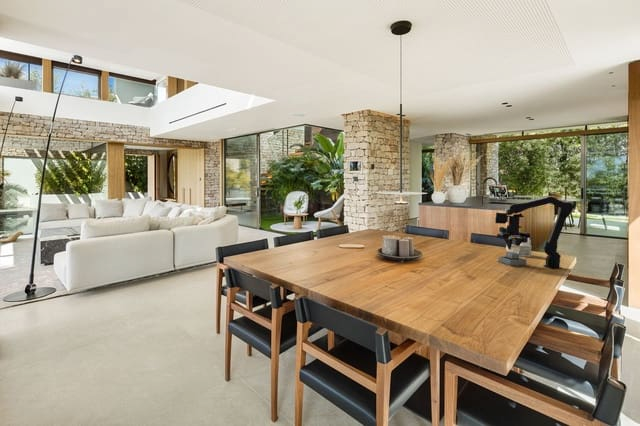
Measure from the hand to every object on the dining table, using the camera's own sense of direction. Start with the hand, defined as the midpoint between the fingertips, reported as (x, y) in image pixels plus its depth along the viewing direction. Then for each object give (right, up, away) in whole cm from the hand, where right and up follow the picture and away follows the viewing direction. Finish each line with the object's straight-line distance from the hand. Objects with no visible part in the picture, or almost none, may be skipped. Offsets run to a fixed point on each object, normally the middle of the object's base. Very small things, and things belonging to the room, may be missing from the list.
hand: (512, 249), depth 201 cm
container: (+20, -7, +22) cm, 31 cm away
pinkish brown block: (0, -1, 0) cm, 1 cm away
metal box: (0, -8, +1) cm, 8 cm away
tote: (0, -9, +1) cm, 9 cm away
